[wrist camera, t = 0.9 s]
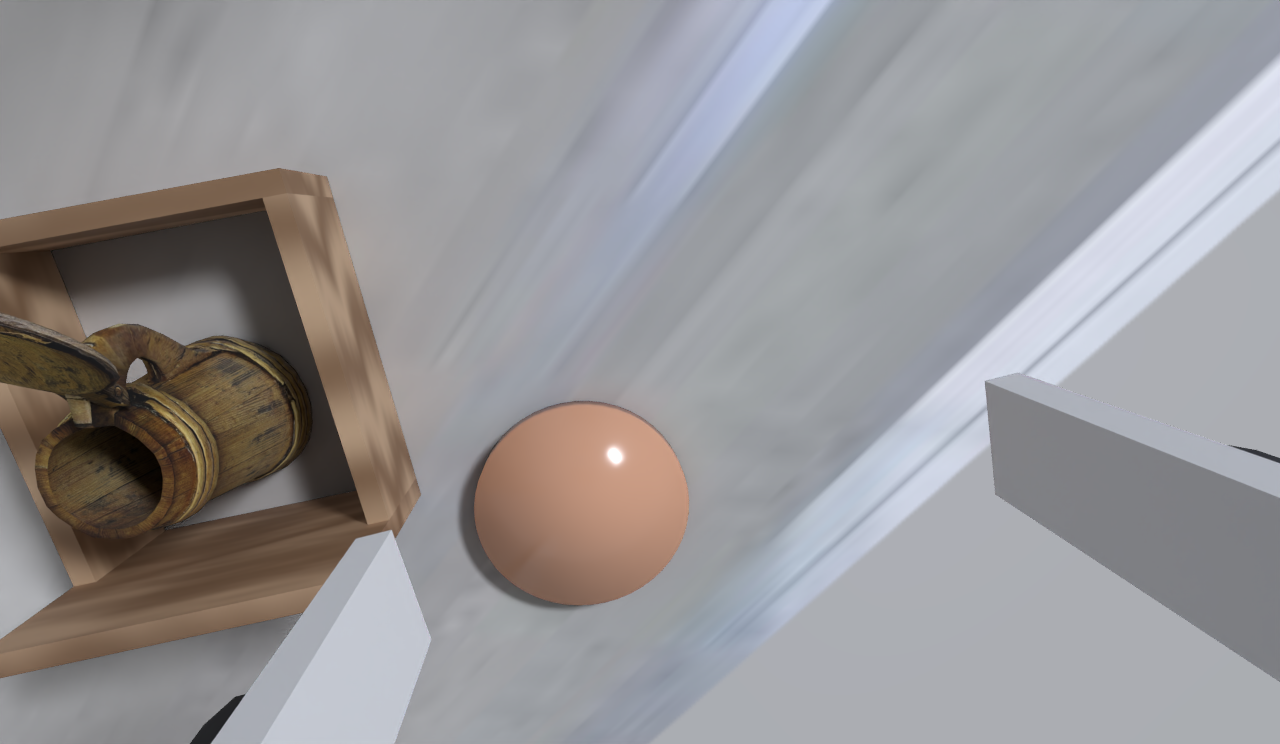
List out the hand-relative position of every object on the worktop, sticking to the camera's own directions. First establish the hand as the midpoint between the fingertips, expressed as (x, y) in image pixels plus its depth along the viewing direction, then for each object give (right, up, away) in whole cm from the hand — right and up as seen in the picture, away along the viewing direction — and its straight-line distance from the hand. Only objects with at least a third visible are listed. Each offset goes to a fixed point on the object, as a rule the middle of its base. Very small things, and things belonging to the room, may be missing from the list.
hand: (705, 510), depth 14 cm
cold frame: (-26, +3, +25) cm, 36 cm away
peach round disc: (-5, -6, +29) cm, 30 cm away
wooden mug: (-26, +3, +25) cm, 37 cm away
